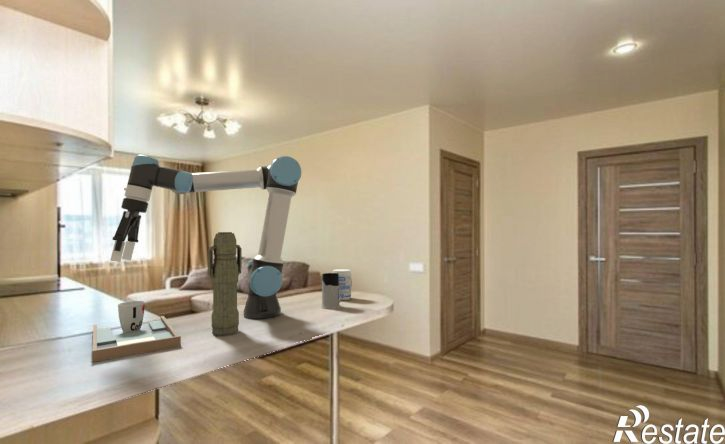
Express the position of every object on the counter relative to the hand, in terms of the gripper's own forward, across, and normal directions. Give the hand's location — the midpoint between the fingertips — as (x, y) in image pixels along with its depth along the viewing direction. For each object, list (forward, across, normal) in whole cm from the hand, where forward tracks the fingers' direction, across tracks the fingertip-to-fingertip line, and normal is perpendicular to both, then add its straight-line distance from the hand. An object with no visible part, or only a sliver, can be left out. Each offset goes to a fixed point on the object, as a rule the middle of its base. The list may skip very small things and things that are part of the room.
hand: (121, 260), depth 123 cm
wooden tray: (+24, +3, +10) cm, 26 cm away
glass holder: (+8, -18, +84) cm, 86 cm away
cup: (+25, -8, +7) cm, 27 cm away
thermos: (+19, +7, +38) cm, 43 cm away
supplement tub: (+6, -34, +91) cm, 98 cm away
